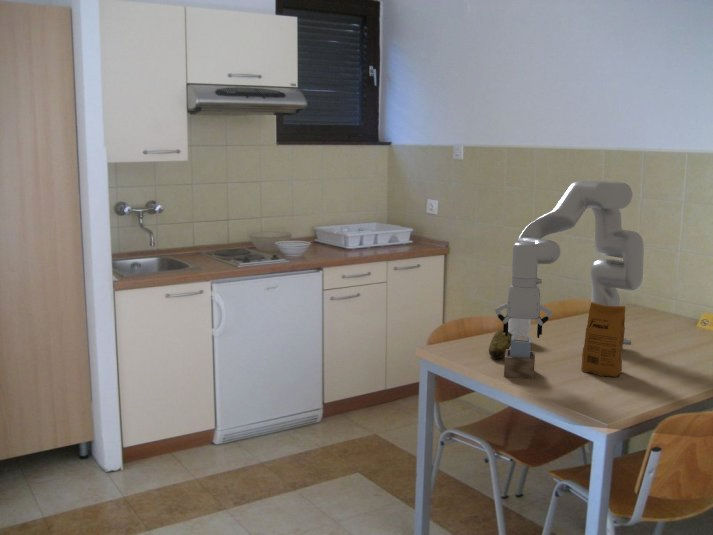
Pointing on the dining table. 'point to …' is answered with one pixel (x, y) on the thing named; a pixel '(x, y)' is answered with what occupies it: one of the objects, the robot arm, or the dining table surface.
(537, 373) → the dining table surface
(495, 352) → the potato
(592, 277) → the robot arm
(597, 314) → the coffee package
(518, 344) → the cap block
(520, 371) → the box base
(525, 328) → the white cup
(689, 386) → the dining table surface
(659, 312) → the dining table surface
